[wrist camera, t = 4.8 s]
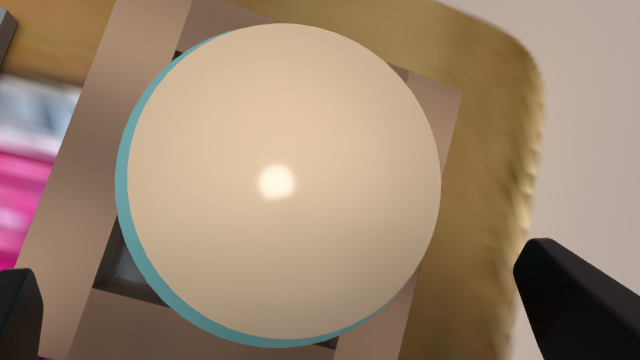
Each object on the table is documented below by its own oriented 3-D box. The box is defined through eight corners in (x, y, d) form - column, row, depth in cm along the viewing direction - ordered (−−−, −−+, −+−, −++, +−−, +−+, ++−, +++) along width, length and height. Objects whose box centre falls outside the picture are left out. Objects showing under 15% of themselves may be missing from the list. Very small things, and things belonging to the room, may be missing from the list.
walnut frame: (345, 395, 18) (379, 433, 14) (31, 320, 16) (-15, 344, 12) (417, 116, 20) (463, 91, 16) (143, 16, 18) (129, -36, 14)
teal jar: (350, 237, 18) (512, 243, 9) (211, 320, 17) (220, 436, 7) (276, 102, 18) (358, -45, 9) (130, 174, 17) (32, 95, 7)
